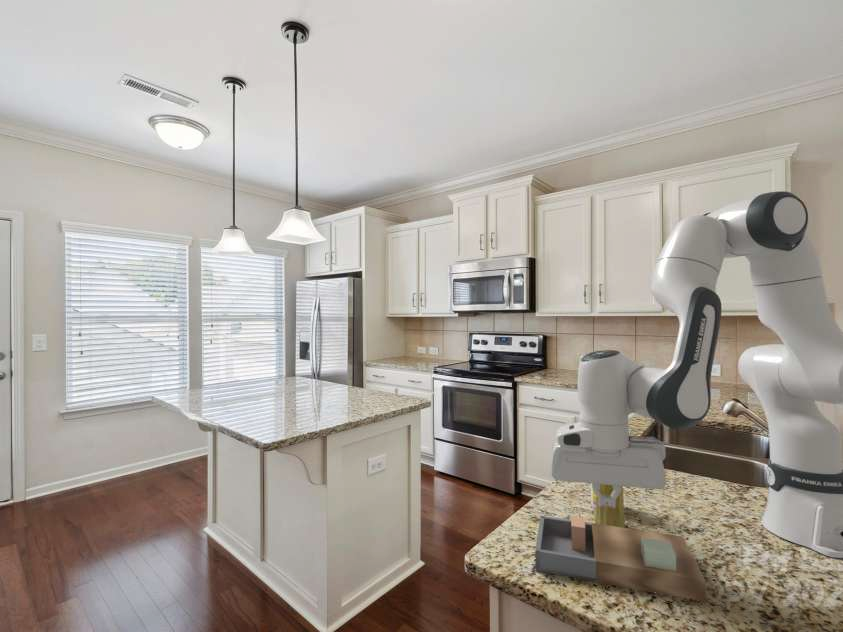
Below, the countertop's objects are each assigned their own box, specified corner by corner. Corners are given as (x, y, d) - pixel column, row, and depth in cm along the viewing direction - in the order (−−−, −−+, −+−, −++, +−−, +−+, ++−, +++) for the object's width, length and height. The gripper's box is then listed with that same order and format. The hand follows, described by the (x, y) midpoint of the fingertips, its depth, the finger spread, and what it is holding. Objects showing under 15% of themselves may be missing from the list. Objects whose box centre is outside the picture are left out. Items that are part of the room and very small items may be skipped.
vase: (612, 535, 86) (611, 466, 86) (588, 522, 91) (587, 457, 91) (631, 527, 88) (630, 461, 89) (607, 516, 94) (606, 453, 94)
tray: (591, 540, 84) (591, 523, 84) (596, 581, 70) (595, 561, 70) (540, 532, 87) (540, 515, 87) (535, 570, 74) (535, 550, 74)
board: (682, 554, 78) (682, 536, 78) (705, 602, 65) (705, 580, 65) (591, 540, 84) (591, 523, 84) (596, 581, 70) (595, 561, 70)
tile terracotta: (584, 517, 83) (571, 515, 84) (585, 528, 79) (571, 525, 80) (584, 539, 83) (571, 537, 84) (585, 551, 79) (571, 549, 80)
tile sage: (669, 556, 72) (669, 541, 72) (676, 571, 68) (676, 555, 68) (641, 551, 73) (640, 537, 73) (645, 565, 69) (645, 550, 69)
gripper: (661, 433, 79) (664, 504, 79) (550, 427, 86) (553, 493, 86) (668, 442, 74) (672, 520, 73) (549, 436, 80) (552, 507, 80)
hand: (607, 505), depth 80 cm, fingers closed
